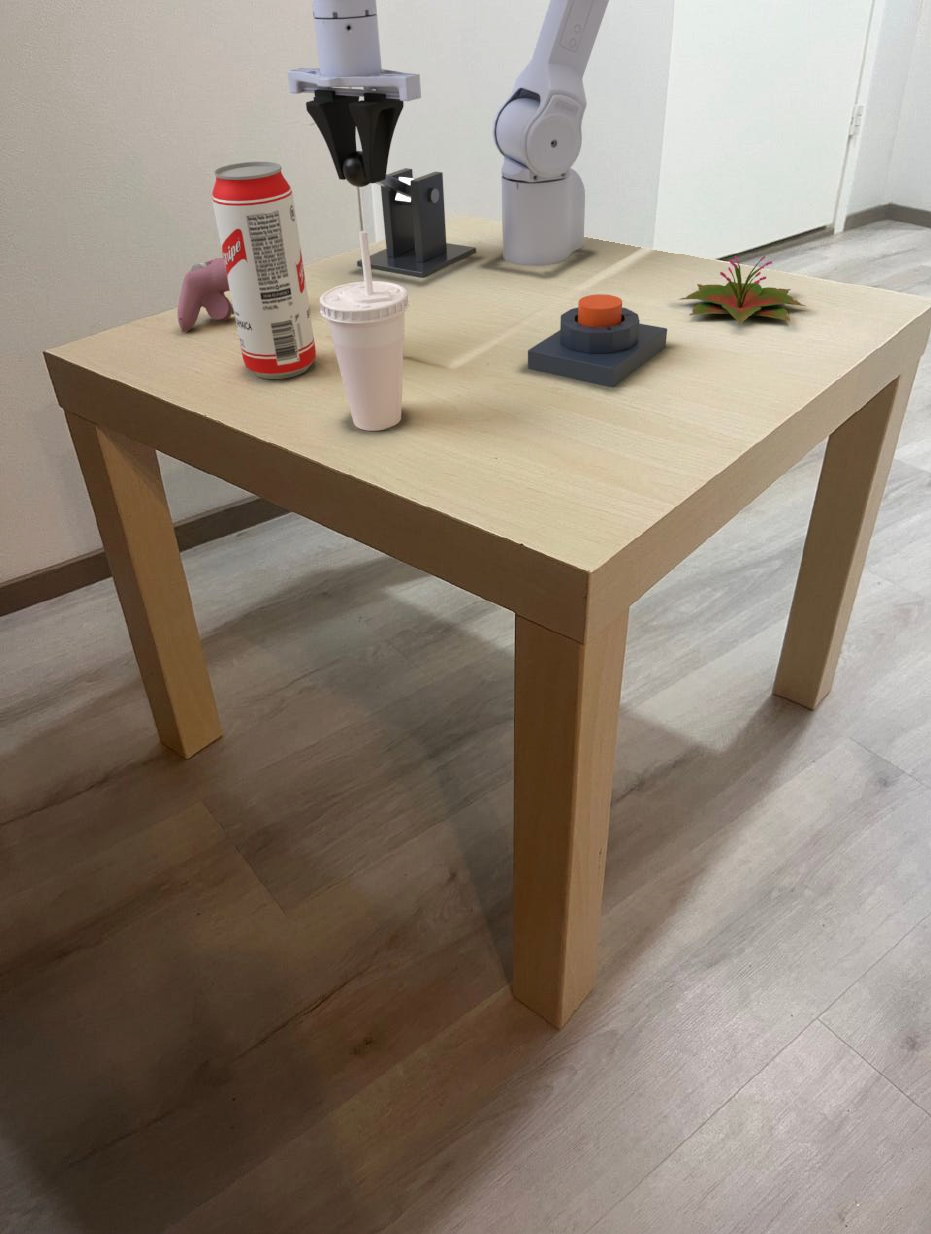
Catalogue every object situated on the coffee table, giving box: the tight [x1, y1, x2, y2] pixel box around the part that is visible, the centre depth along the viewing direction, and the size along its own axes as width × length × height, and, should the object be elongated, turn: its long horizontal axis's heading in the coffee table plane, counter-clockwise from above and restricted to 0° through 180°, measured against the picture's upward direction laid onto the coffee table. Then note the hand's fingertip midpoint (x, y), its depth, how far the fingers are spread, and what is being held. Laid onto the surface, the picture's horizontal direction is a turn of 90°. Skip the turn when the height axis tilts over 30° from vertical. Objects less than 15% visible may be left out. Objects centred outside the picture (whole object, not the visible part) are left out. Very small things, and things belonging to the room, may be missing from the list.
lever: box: [343, 150, 417, 207], centre depth 95 cm, size 12×3×3 cm, turn 145°
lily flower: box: [677, 255, 806, 325], centre depth 87 cm, size 12×12×5 cm
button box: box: [527, 306, 668, 388], centre depth 79 cm, size 10×8×4 cm
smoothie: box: [319, 230, 410, 432], centre depth 68 cm, size 6×6×14 cm
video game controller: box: [177, 257, 233, 333], centre depth 90 cm, size 10×5×7 cm, turn 84°
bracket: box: [356, 167, 477, 279], centre depth 100 cm, size 10×9×9 cm
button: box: [577, 293, 623, 327], centre depth 78 cm, size 4×4×2 cm
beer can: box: [211, 161, 317, 380], centre depth 77 cm, size 6×6×16 cm
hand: (362, 179), depth 92 cm, fingers closed on lever, 3 cm apart
